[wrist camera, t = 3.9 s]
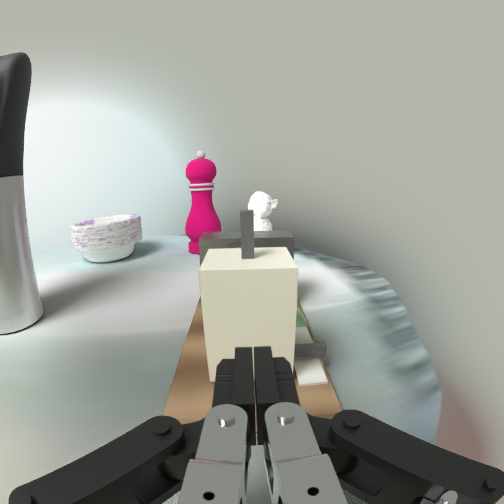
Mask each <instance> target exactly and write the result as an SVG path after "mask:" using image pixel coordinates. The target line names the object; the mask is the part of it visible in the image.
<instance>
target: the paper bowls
mask: <svg viewBox="0 0 504 504" xmlns="http://www.w3.org/2000/svg"><path fill="white" fill-rule="evenodd" d="M70 229H71V237H72V243H73V248H74V250H77V251H81V252H82V254H83V255H84V257H85V258H86V259H87V260H88V261H91V262H110V261H116V260H120V259H123V258H125V257H127V256H129V255H130V254H131V253H132V252H133V249H134V246H135V243H136V242H137V241H139V240H141V239H142V230H141V218H140V216H139V215H116V216H108V217H101V218H96V219H91V220H87V221H82V222H79V223H76V224H73V225H72V226H71V227H70Z"/></svg>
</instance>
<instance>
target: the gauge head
mask: <svg viewBox="0 0 504 504" xmlns="http://www.w3.org/2000/svg"><path fill="white" fill-rule="evenodd" d="M240 218H241V248H224V249H208V251H207V254H206V256H205V258H204V260H203V262H202V265H201V267H200V269H199V280H200V292H201V303H202V314H203V325H204V335H205V344H206V353H207V362H208V370H209V378H210V382H215V376H216V368H217V365H218V364H219V363H220V361H221V360H222V359H235V347H252V353H253V372H254V347H256V346H271V350H272V356H273V357H285V359H286V360H287V361H288V362H289V363H290V364H291V368H292V373H293V364H294V358H295V357H309V356H320V355H325V352H326V345H325V343H324V342H321V343H308V344H295V331H296V311H297V286H298V267H297V265H296V263H295V262H294V260H293V258H292V256H291V255H290V253H289V251H288V250H287V248H286V247H265V248H254V211H253V210H240Z"/></svg>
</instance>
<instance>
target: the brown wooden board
mask: <svg viewBox="0 0 504 504" xmlns="http://www.w3.org/2000/svg"><path fill="white" fill-rule="evenodd" d="M308 343H315V340H314V338H313V336H312V333H311V331H310V328H309V326H308V323H307V321H306V319H305V316H304V314H303V311H302V309H301V307H300V304H299V302H298V299H297V311H296V331H295V344H308ZM293 376H294V380H295V385H296V389H297V393H298V397H299V401H300V405H301V407H302V408H303V409H304V410H305V412H307V413H308V414H310V415H312V416H315V417H320V418H328V419H332V418H333V416H334V415H335V414H337V413H338V412H340V411H343V410H342V408H341V405H340V403H339V400H338V398H337V395H336V393H335V390H334V388H333V385H332V383H331V380H330V378H329V375H328V373H327V370H326V368H325V365H324V363H323V360H322V358H321V355H320V356H309V357H295V358H294V364H293ZM214 384H215V382H210V378H209V370H208V362H207V353H206V344H205V335H204V325H203V314H202V303H201V296H200V299H199V302H198V305H197V308H196V311H195V314H194V317H193V320H192V323H191V326H190V329H189V332H188V335H187V338H186V341H185V345H184V348H183V351H182V354H181V357H180V360H179V363H178V367H177V370H176V373H175V376H174V379H173V383H172V386H171V389H170V392H169V396H168V399H167V402H166V406H165V409H164V412H163V416H170V417H173V418H175V419H177V420H178V421H179V422H180V423H181V424H187V423H192V422H196V421H199V420H201V419H203V418H205V417H206V414H207V412H208V411H209V410H210V409H211V408H212V401H213V393H214ZM254 390H255V386H254ZM255 418H256V404H255ZM256 432H257V422H256Z"/></svg>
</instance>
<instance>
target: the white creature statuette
mask: <svg viewBox="0 0 504 504" xmlns="http://www.w3.org/2000/svg"><path fill="white" fill-rule="evenodd" d="M277 205H278V199H277V200H272V198H271V197H270V196H269V195H267V194H265V193H264V192H261V191H260V192H258V191H257V192H255V193H254V194H253V195H252V196H251V199H250V203H249V204H248V210H253V211H254V231H272V225H271V223H270V221H269V220H268V219H267V218H266V217H267V216H268V215H269V214H270V213H271V212H272V210H273V209H274V208H275V207H276V206H277Z"/></svg>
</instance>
